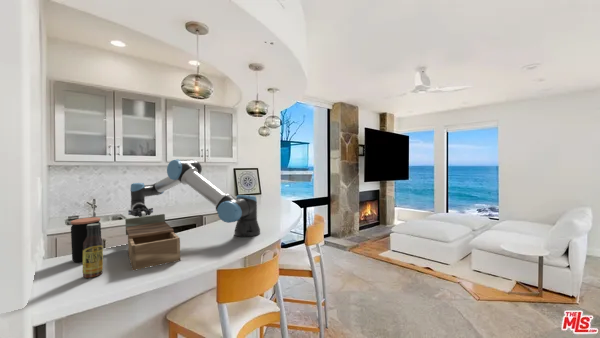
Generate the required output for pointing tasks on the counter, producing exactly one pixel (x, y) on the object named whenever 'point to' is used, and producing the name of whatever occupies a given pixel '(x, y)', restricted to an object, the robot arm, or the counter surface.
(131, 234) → the lid
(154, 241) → the chest
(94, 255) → the sauce bottle
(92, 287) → the counter surface
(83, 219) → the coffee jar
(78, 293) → the counter surface
